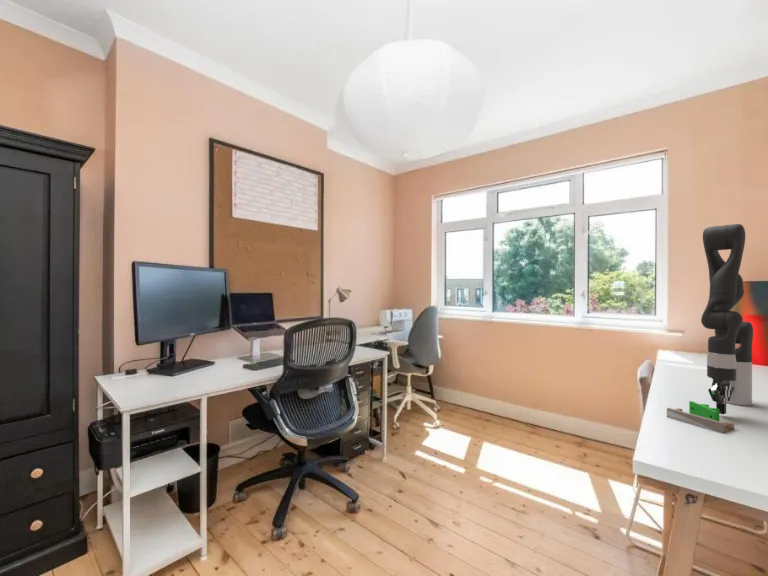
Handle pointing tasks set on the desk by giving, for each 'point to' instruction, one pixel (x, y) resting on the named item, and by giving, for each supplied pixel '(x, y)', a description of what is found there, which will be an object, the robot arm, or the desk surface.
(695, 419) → the channel stop
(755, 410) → the desk surface
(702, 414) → the pipe clamp
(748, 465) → the desk surface
